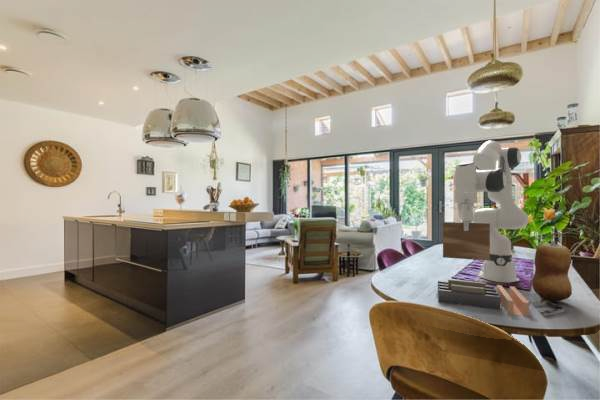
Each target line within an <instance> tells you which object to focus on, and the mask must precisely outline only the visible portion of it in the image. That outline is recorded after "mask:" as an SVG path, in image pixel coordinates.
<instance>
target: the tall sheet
mask: <svg viewBox="0 0 600 400" xmlns="http://www.w3.org/2000/svg"><path fill="white" fill-rule="evenodd" d="M442 258H445V259H446V258H447V259H460V260H473V261H475V260H476V261H485V260H486V261H490V223H473V222H469V230H468V231H464V223H463V222H462V221H461V222H459V221H457V222H455V221H453V222H452V221H442Z"/></svg>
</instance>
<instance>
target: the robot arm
mask: <svg viewBox="0 0 600 400" xmlns="http://www.w3.org/2000/svg"><path fill="white" fill-rule="evenodd" d="M521 161H522V153H521V150H520V149H519V148H518V147H502V145H501V144H500V142H498V141H495V140H488V141H485V142H484V143H482V145H480V146H479V147H478V149H477V150H476V151H475V153H474V155H473V159H472V162H470V161H469V162H463V163H462V162H460V163H458V164H456V166H455V169H454V182H453V183H454V186H455V187H454V191H453V192H454V195H453V197H454V204H457V211H458V218H459V219H461V222H463V223H464V231H468V230H469V223H490V261H486V260H484V261H483V263H481V264H480V269H481V270H480V271H479V273H478V278H479V279H485V280H486V281H487V280H488V281H492V282H497V283H508V284H509V283H515V282H520V278H518V277H517V272H516V265H515V264H514V263H513V262H512V261H513V255H512V241H511V239H510V238H509V237H507V236H505V235H503V234H501V233H500V232H499V230H498V229H502V230H520V229H525V227H526V226H527V225H528V223H529V220H530V219H529V215H528V214H527V212H526V211H524V210H523V209H522V208H520V207H519V205H517V204H516V202H515V200H514V197H513V177H512V171H513V170H514V169H515V168H517V167H518V166H519V165H520V163H521ZM478 192H482V193H483V192H484V193H485V192H487V198H488V200H490V201H491V202H493V203H496V204H498V205H500V208H490V207H489V208H479V209H475V210H474V207H475V204H478Z"/></svg>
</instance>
